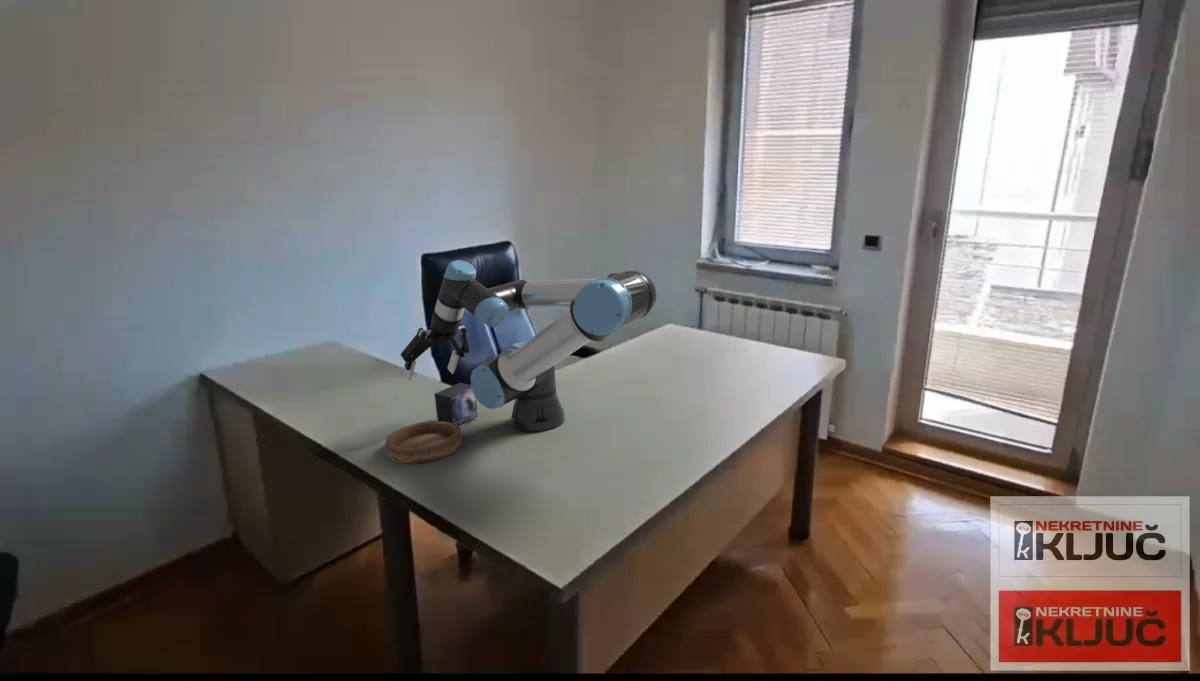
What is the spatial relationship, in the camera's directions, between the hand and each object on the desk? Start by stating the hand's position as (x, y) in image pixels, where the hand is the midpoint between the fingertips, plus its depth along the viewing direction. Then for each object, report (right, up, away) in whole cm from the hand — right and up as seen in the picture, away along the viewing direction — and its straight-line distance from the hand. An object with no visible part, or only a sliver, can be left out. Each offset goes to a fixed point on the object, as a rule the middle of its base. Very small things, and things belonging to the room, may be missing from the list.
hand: (429, 374), depth 177 cm
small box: (+8, -15, +2) cm, 17 cm away
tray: (+3, -19, -13) cm, 23 cm away
